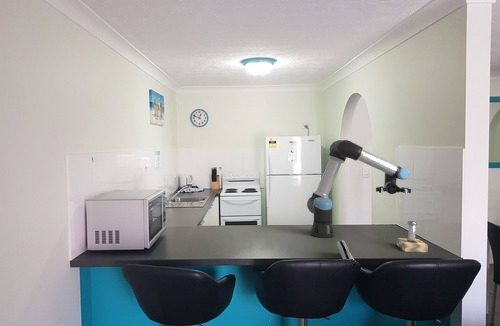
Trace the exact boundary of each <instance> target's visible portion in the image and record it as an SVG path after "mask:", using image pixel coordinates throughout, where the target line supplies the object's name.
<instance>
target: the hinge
mask: <svg viewBox="0 0 500 326" xmlns="http://www.w3.org/2000/svg"><path fill="white" fill-rule="evenodd" d="M336 245H337V248H338V252H339V253H340V256H341V258H342V260H343V259H353V260H355V259H354V257H353V256H352V254H351V252H350V250H349V247H348V245H347V243H346V241H345V240H343V239H341V240H340V241H339V240H338V241H336Z"/></svg>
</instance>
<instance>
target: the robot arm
mask: <svg viewBox="0 0 500 326" xmlns="http://www.w3.org/2000/svg"><path fill="white" fill-rule="evenodd" d="M346 159H351V160H353V161H355V162H356V161H359V162H362V163H363V164H366V165H367V166H369V167H370V166H371V167H373V168H374V169H376V170H379V171H381V172H383V173H384V184H383V186H382V185H381V186H378V187H375V192H376V193H377V192H378V193H379V194H383V193H384V192H386V193H387V194H389V195H394V194H396V193H403V194H405V195H408V194H411V193H412V188H409V187H403V186H401V187H400V186H399V185H397V180H400V181H401V180H403V181H405V180H407V179H409V177H410V174H411V173H410V170H409V169H407V168H405V167H402V166H399V165H398V164H397V163H393V162H391V161H388V160H386V159H385V158H382V157H380V156H378V155H376V154H374V153H372V152H370V151H368V150H366V149H364V147H362V146H361V145H358V144H357V143H356V142H353V141H351V140H349V139H342V140H341V139H339V140H335V141H333V142H332V143H331V144H330V146H329V153H328V162H327V164H326V166H325V169H324V172H323V174H322V176H321V179H320V181H319V183H318V186H317V188H316V190H315V191H313V192H312V194H311V197H309V198H308V199H307V202H306V206H307V210H308V211H309V212H310V213H312V214H313V223H312V226H311V229H310V236H313V237H316V238H320V239H321V238H323V239H325V238H326V239H327V238H334V237H335V230H334V225H333V200H332V199H331V198H329V194H330V192H331V190H332V187H333V185H334V183H335V180H336V178H337V175H338V173H339V170H340V168H341V165H342V164H344V163H346Z"/></svg>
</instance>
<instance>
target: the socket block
mask: <svg viewBox="0 0 500 326" xmlns="http://www.w3.org/2000/svg"><path fill="white" fill-rule="evenodd" d="M396 246H398V248H400V249H401V250H402V251H404V252H413V253H416V252H417V253H428V251H429V245H428V244H427V242H424V241H422V240H421V239H419V238H415V243H409V242H408V237H407V238H406V237H405V238H401V237H399V238H398V237H397V238H396Z"/></svg>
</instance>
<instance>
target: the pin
mask: <svg viewBox="0 0 500 326" xmlns="http://www.w3.org/2000/svg"><path fill="white" fill-rule="evenodd" d="M417 224H418V223H417V221H412V220H408V221H407V225H408V234H407V235H408V236H407V238H408V242H409V243H415V239H416V226H417Z"/></svg>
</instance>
